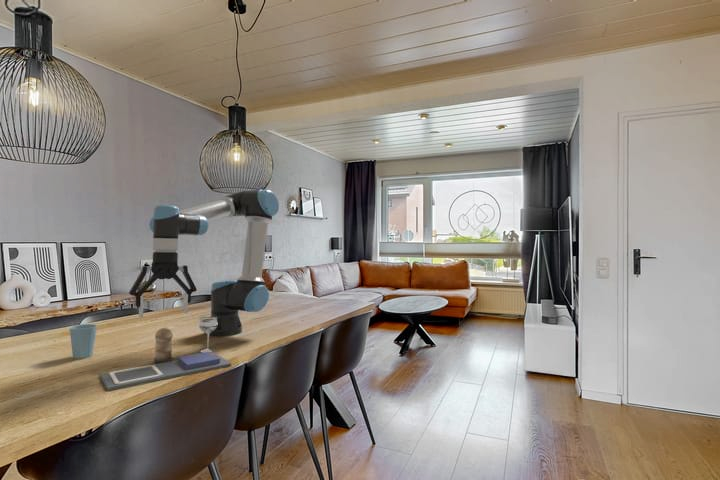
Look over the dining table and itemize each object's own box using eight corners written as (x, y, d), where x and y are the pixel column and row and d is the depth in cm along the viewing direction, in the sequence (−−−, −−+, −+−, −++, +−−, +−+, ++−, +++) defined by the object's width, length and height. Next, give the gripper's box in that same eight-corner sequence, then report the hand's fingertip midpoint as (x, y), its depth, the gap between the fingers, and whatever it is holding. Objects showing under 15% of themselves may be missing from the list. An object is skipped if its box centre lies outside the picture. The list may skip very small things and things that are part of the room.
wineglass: (194, 350, 140) (195, 318, 140) (212, 347, 145) (212, 315, 145) (202, 354, 135) (203, 321, 136) (220, 350, 140) (221, 318, 140)
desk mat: (215, 355, 134) (215, 348, 134) (231, 365, 124) (231, 358, 124) (100, 376, 112) (100, 368, 112) (107, 390, 101) (107, 381, 101)
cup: (83, 352, 135) (84, 323, 135) (101, 354, 134) (102, 324, 134) (63, 358, 128) (63, 328, 128) (82, 360, 127) (83, 329, 127)
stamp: (170, 358, 131) (170, 325, 131) (174, 362, 126) (175, 328, 126) (152, 361, 127) (152, 327, 127) (156, 365, 123) (156, 331, 123)
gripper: (200, 251, 138) (198, 309, 138) (120, 250, 122) (118, 316, 121) (207, 251, 132) (205, 312, 132) (124, 251, 116) (122, 320, 116)
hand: (163, 314), depth 127 cm, fingers open, 13 cm apart
